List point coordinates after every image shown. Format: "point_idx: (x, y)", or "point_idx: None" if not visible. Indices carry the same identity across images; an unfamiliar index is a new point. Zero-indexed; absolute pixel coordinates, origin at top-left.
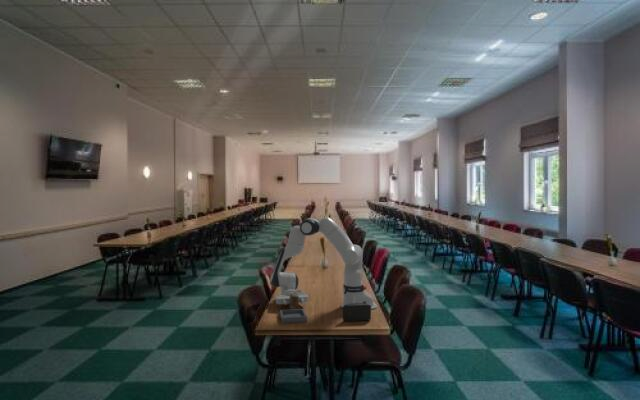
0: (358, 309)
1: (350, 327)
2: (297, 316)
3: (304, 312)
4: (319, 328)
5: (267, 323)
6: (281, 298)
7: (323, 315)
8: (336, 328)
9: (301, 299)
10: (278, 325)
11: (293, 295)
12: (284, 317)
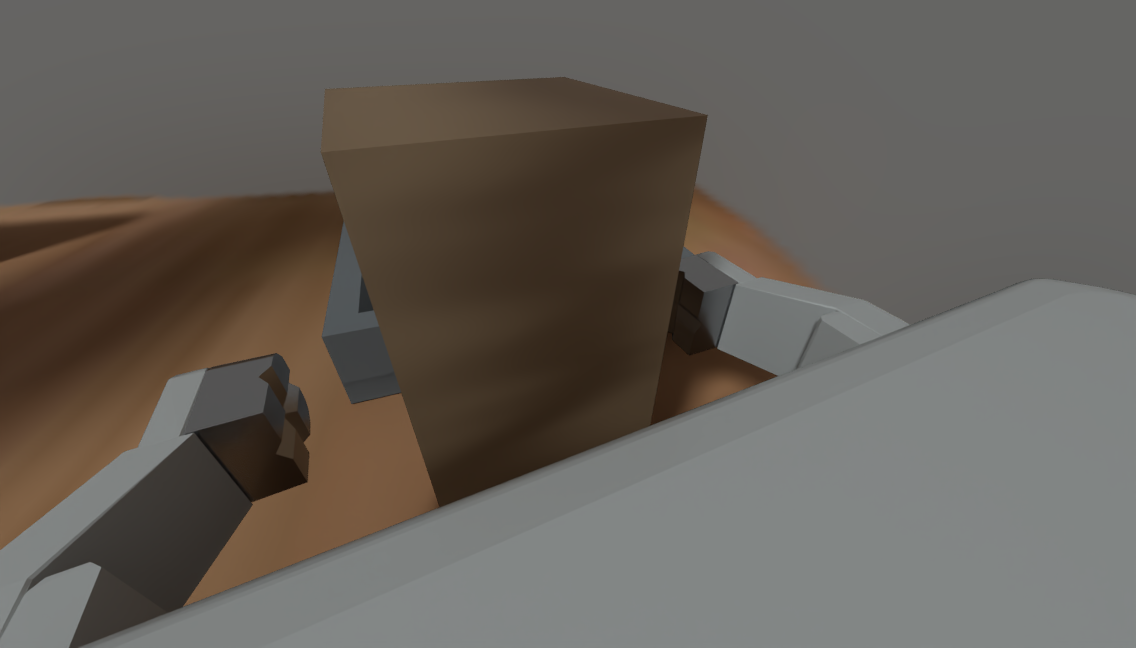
0: None
1: (23, 214)
2: None
3: (347, 244)
4: (297, 194)
5: (692, 207)
6: (999, 304)
7: (24, 386)
8: (162, 200)
9: (124, 585)
10: None
11: (514, 97)
12: None
